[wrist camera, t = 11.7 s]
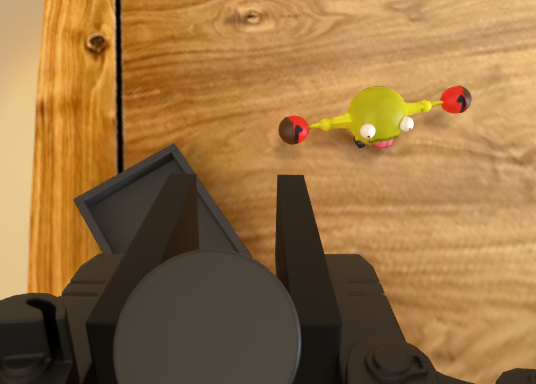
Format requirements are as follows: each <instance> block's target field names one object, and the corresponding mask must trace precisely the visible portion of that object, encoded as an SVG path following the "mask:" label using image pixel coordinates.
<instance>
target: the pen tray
mask: <svg viewBox="0 0 536 384" xmlns="http://www.w3.org/2000/svg"><path fill="white" fill-rule="evenodd" d="M169 174H195V173H194V171H193V170H192V168H191V167H190V165H189V164H188V162H187V161H186V160H185V158H184V157H183V155H182V154H181V152H180V151H179V149H178V148H177V146H176V145H175V144H174V143H173V144H172V145H170V146H168V147H166V148H164V149H163V150H161V151H159V152H157V153H155V154H154V155H152V156H150V157H148V158H146V159H145V160H143V161H141V162H139V163H138V164H136V165H134V166H132V167H130V168H129V169H127V170H125V171H123V172H121V173H120V174H118V175H116V176H114V177H112V178H111V179H109V180H107V181H105V182H104V183H102V184H100V185H98V186H96V187H95V188H93V189H91V190H89V191H87V192H86V193H84V194H82V195H80V196H78V197H77V198H75V199H73V200H74V202H75V204H76V205H77V207H78V209H79V211H80V213H81V215H82V216H83V218H84V220H85V222H86V224H87V225H88V227H89V229H90V231H91V233H92V234H93V236H94V238H95V240H96V241H97V243H98V245H99V247H100V249H101V250H102V252H103V254H125V252H126V250H127V248H128V247H129V245H130V243H131V241H132V240H133V238H134V236H135V234H136V233H137V231H138V229H139V227H140V225H141V224H142V222H143V220H144V218H145V217H146V215H147V213H148V211H149V210H150V208H151V206H152V204H153V202H154V201H155V199H156V197H157V195H158V194H159V192H160V190H161V188H162V187H163V185H164V183H165V181H166V180H167V178H168V176H169ZM196 184H197V205H198V226H199V247H200V249H225V250H230V251H235V252H238V253H241V254H244V255H246V256H248V257H250V258H252V259H253V257H252V256H251V255H250V253H249V252H248V250H247V249H246V247H245V246H244V244H243V243H242V241H241V240H240V238H239V237H238V236H237V234H236V233H235V231H234V230H233V228H232V227H231V225H230V224H229V222H228V221H227V219H226V218H225V217H224V215H223V214H222V212H221V211H220V209H219V208H218V206H217V205H216V203H215V202H214V200H213V199H212V198H211V196H210V195H209V193H208V192H207V190H206V189H205V187H204V186H203V184H202V183H201V181H200V180H199V179H198V177H197V176H196Z"/></svg>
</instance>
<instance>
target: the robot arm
mask: <svg viewBox="0 0 536 384" xmlns="http://www.w3.org/2000/svg"><path fill="white" fill-rule="evenodd" d="M199 249H200V247H199V226H198V205H197V184H196V174H169V176H168V178H167V180H166V181H165V183H164V185H163V187H162V188H161V190H160V192H159V194H158V195H157V197H156V199H155V201H154V202H153V204H152V206H151V208H150V210H149V211H148V213H147V215H146V217H145V218H144V220H143V222H142V224H141V225H140V227H139V229H138V231H137V233H136V234H135V236H134V238H133V240H132V241H131V243H130V245H129V247H128V248H127V250H126V252H125V254H98V255H96V256H95V257H93V258H92V259H91V260H89V261H88V262H86V263H85V264H83V265H82V266H81V267H80V268H79V269H78V271H77V272H76V274H75V275H74V277H73V278H72V279H71V283H69V284H68V285H67V286H66V288H65V289H64V291H63V292H62V296H59V298H58V297H56V296H53V295H51V294H47V293H27V294H22V295H15V296H12V297H9V298H6V299H3V300H0V384H118V383H117V379H116V375H115V370H114V362H113V344H114V336H115V331H116V326H117V323H118V320H119V317H120V314H121V312H122V309H123V307H124V305H125V303H126V301H127V300H128V298H129V296H130V295H131V293H132V291H133V290H134V289H135V288H136V286H137V285H138V284H139V283H140V281H141V280H142V279H143V278H144V277H145V276H146V275H147V274H148V273H150V272H151V271H152V270H153V269H155V268H156V267H157V266H159V265H160V264H162V263H164V262H165V261H167V260H169V259H171V258H173V257H175V256H177V255H180V254H183V253H186V252H189V251H194V250H199ZM275 261H276V277H277V278H278V279H279V280H280V282H281V283H282V284H283V286H284V287H285V289H286V290H287V292H288V293H289V295H290V297H291V299H292V301H293V303H294V306H295V309H296V312H297V314H298V319H299V323H300V329H301V356H300V362H299V367H298V371H297V374H296V378H295V380H294V383H293V384H474V383H470V382H466V381H462V380H458V379H455V378H452V377H449V376H446V375H443V374H442V373H440V372H438V371H436V370H435V368H434V367H433V365H432V363H431V361H430V360H429V358H428V357H427V356H426V355H425V354H424V353H423V352H421V351H420V350H419V349H418V348H417V347H415V346H413V345H411V344H409V343H407V342H406V340H405V338H404V336H403V333H402V331H401V329H400V327H399V324H398V322H397V320H396V318H395V315H394V313H393V311H392V309H391V306H390V304H389V302H388V300H387V297H386V296H385V295H384V291H383V288H382V286H381V284H379V279H378V277H377V275H376V273H375V270H374V268H373V266H372V265H370V264H369V263H368V262H367V261H366V260H365V259H363V258H362V257H361V256H360V255H359V254H324V251H323V247H322V244H321V240H320V236H319V232H318V228H317V225H316V221H315V217H314V213H313V210H312V206H311V202H310V198H309V194H308V191H307V187H306V183H305V179H304V175H278V176H277V210H276V245H275ZM495 384H536V370H535V369H521V368H516V369H513V370H509V371H506V372H503V373H502V375H501V376H500V377H499V378H498V379H497V381H496V383H495Z"/></svg>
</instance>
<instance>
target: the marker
mask: <svg viewBox="0 0 536 384" xmlns="http://www.w3.org/2000/svg"><path fill="white" fill-rule="evenodd" d="M300 356H301V329H300V323H299V319H298V314H297V312H296V309H295V306H294V303H293V301H292V299H291V297H290V295H289V293H288V292H287V290H286V289H285V287H284V286H283V284H282V283H281V282H280V280H279V279H278V278H277V277H276V276H275V275H274V274H273V273H272V272H271V271H270V270H269V269H268V268H266V267H265V266H264V265H262V264H261V263H259V262H258V261H256V260H255V259H252V258H250V257H248V256H246V255H244V254H241V253H238V252H235V251H230V250H225V249H199V250H194V251H189V252H186V253H183V254H180V255H177V256H175V257H173V258H171V259H169V260H167V261H165V262H164V263H162V264H160V265H159V266H157V267H156V268H155V269H153V270H152V271H151V272H150V273H148V274H147V275H146V276H145V277H144V278H143V279H142V280H141V281H140V283H139V284H138V285H137V286H136V288H135V289H134V290H133V291H132V293H131V295H130V296H129V298H128V300H127V301H126V303H125V305H124V307H123V309H122V312H121V314H120V317H119V320H118V323H117V326H116V331H115V336H114V344H113V362H114V370H115V375H116V379H117V383H118V384H293V383H294V380H295V378H296V374H297V371H298V367H299V362H300Z"/></svg>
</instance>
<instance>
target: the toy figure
mask: <svg viewBox="0 0 536 384" xmlns="http://www.w3.org/2000/svg"><path fill="white" fill-rule="evenodd" d="M470 104H471V94H470V92H469V91H468V90H467V89H466V88H464V87H462V86H455V87H451V88H449V89H447V90H446V91H445V92H444V93H443V94H442V96H441V101H435V102H430V101H429V100H422V101H421V102H417V103H405V102H404V100H403V99H402V97H401V96H400V95H399V94H398V93H397V92H395V91H394V90H392V89H390V88H387V87H383V86H373V87H369V88H367V89H364V90H362V91H361V92H359V93H358V94H357V95H356V96H355V97H354V98H353V100H352V101H351V103H350V105H349V107H348V112H347V114H345V115H342V116H340V117H335V118H332V119H329V118H324V119H322V120H321V122H319V123H316V124H312V125H308V124H307V122H306V121H305V120H304V119H303V118H301V117H299V116H290V117H285V118H284V119H283V120H282V121H281V123H280V125H279V135H280V137H281V139H282V140H283V141H284V142H286V143H288V144H291V145H293V144H297V143H300V142H302V141H303V140H304V139H305V138H306V137H307V135H308V133H309V129H314V128H321V129H322V130H324V131H328V130H330V129H331V128H348V129H350V131H351V132H352V134H353V135H354V141H355V143H356V144H357V146H358V147H359V148H362V147H364V146H365V144H368V145H373V146H374V147H375V148H377V149H383V148H388V147H390V146H391V145H392V143H393V140H394V139H396V138H397V137H398V136H399V135H400V133H401V132H402V131H409V130H411V129H412V127H413V124H414V123H413V120H412V119H411V118H410V117H408V116H410V115H412V114H415V113H418V112H428V111H429V110H430V109H431V108H432V107H434V106H438V105H441V106H442V108H443V109H444V110H445V111H447V112H449V113H462V112H464V111H466V110H467V109H468V108H469V106H470ZM364 143H365V144H364Z"/></svg>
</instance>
